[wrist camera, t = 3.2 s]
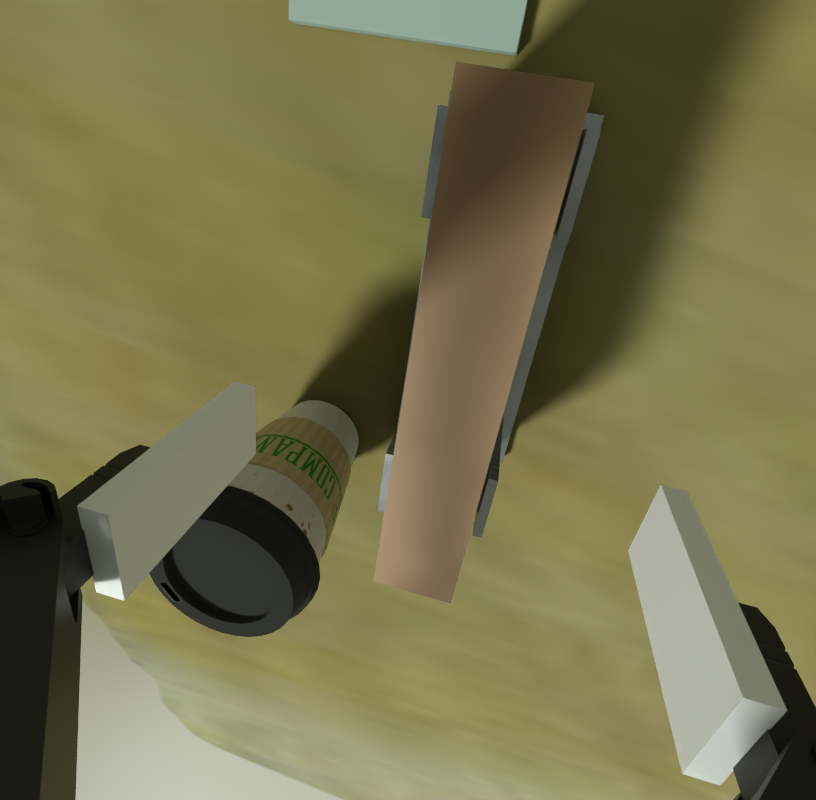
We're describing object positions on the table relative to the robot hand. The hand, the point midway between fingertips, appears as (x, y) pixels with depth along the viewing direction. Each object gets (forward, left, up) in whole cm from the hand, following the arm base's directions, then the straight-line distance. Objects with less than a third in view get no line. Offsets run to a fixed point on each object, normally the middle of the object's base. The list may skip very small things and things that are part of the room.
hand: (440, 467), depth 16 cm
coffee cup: (-10, -13, -18) cm, 24 cm away
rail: (0, 0, -10) cm, 10 cm away
